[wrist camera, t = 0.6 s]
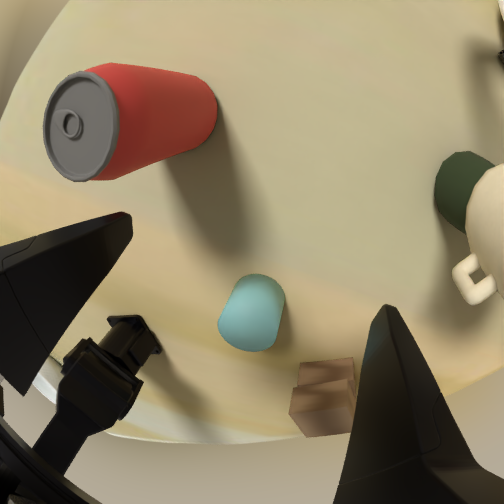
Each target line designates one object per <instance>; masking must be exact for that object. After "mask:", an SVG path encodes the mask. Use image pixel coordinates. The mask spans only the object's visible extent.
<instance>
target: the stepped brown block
mask: <svg viewBox="0 0 504 504" xmlns="http://www.w3.org/2000/svg"><path fill="white" fill-rule="evenodd" d="M355 408H356V400H355V397H354V395H353V392H352V389H351V387H350V384H349V382H348V379H343V380H338V381H333V382H327V383H322V384H316V385H309V386H303V387H296V388H293V392H292V398H291V404H290V409H289V415H290V417H291V418H292V419H293V421H294V422H295V423H296V425H297V426H298V427H299V429H300V430H301V431H302V432H303V434H304V435H305V436H306V437H318V436H327V435H336V434H343V433H350V432H351V430H352V425H353V419H354V414H355Z"/></svg>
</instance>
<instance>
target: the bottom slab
mask: <svg viewBox="0 0 504 504" xmlns="http://www.w3.org/2000/svg"><path fill="white" fill-rule="evenodd" d="M343 379H348V382H349V384H350V387H351V389H352V392H353V395H354V397H355V400H356V386H355V374H354V364H353V357H352V358H344V359H336V360H327V361H317V362H306V363H300V370H299V376H298V383H297V386H298V387H303V386H309V385H316V384H322V383H327V382H333V381H338V380H343Z"/></svg>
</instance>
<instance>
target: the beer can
mask: <svg viewBox="0 0 504 504" xmlns="http://www.w3.org/2000/svg"><path fill="white" fill-rule="evenodd" d="M216 119H217V103H216V99H215V96H214V93H213V91H212V90H211V89H210V87H209V86H208V85H207V83H205V82H204V81H202V80H201V79H199V78H198V77H196V76H192V75H188V74H183V73H178V72H173V71H168V70H162V69H156V68H150V67H143V66H135V65H127V64H118V63H107V64H103V65H99V66H96V67H93V68H90V69H87V70H85V71H79V72H76V73H73V74H71V75H68V76H67V77H66V78H65V79H64V80H62V81H61V82H60V83H59V84H58V85H57V87H56V88H55V90H54V91H53V93H52V95H51V96H50V98H49V101H48V104H47V107H46V110H45V114H44V121H43V138H44V144H45V148H46V151H47V155H48V157H49V159H50V161H51V162H52V164H53V166H54V168H55V169H56V170H57V171H58V172H59V173H60V174H61V175H62V176H63V177H65V178H67V179H69V180H71V181H73V182H86V181H88V180H114V179H117V178H119V177H121V176H124V175H126V174H128V173H131V172H133V171H135V170H138V169H140V168H143V167H145V166H148V165H150V164H153V163H155V162H158V161H161V160H163V159H166V158H168V157H171V156H174V155H177V154H179V153H182V152H185V151H188V150H191V149H194V148H196V147H197V146H199V145H200V144H201V143H203V142H204V141H205V140H206V139H207V138H208V136H209V135H210V133H211V132H212V131H213V128H214V125H215V122H216Z"/></svg>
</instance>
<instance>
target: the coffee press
mask: <svg viewBox="0 0 504 504" xmlns="http://www.w3.org/2000/svg"><path fill="white" fill-rule="evenodd" d="M498 4H499V8H500V11H501V15H502V18H503V20H504V0H498ZM498 56H499V57H500V59H501V60H502V62H503V63H504V50H502V51H501V52H499V53H498Z"/></svg>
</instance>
